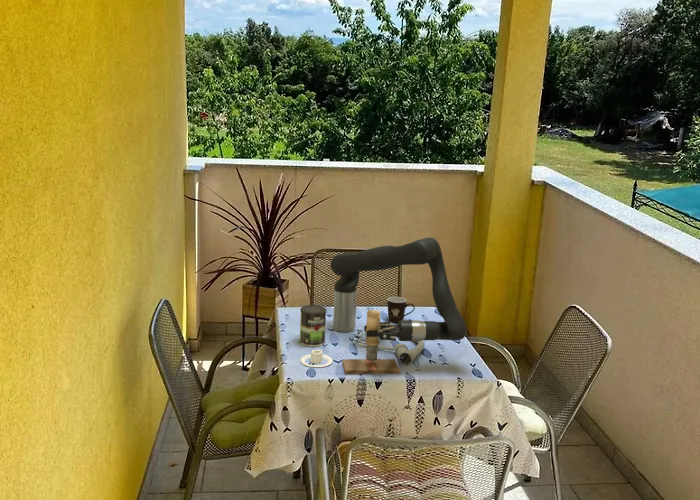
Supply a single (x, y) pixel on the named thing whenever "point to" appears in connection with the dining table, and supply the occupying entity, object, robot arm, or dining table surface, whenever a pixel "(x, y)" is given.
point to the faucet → (404, 351)
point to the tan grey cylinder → (372, 342)
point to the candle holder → (316, 358)
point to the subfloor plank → (370, 366)
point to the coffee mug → (397, 309)
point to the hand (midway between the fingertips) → (365, 331)
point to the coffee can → (312, 325)
